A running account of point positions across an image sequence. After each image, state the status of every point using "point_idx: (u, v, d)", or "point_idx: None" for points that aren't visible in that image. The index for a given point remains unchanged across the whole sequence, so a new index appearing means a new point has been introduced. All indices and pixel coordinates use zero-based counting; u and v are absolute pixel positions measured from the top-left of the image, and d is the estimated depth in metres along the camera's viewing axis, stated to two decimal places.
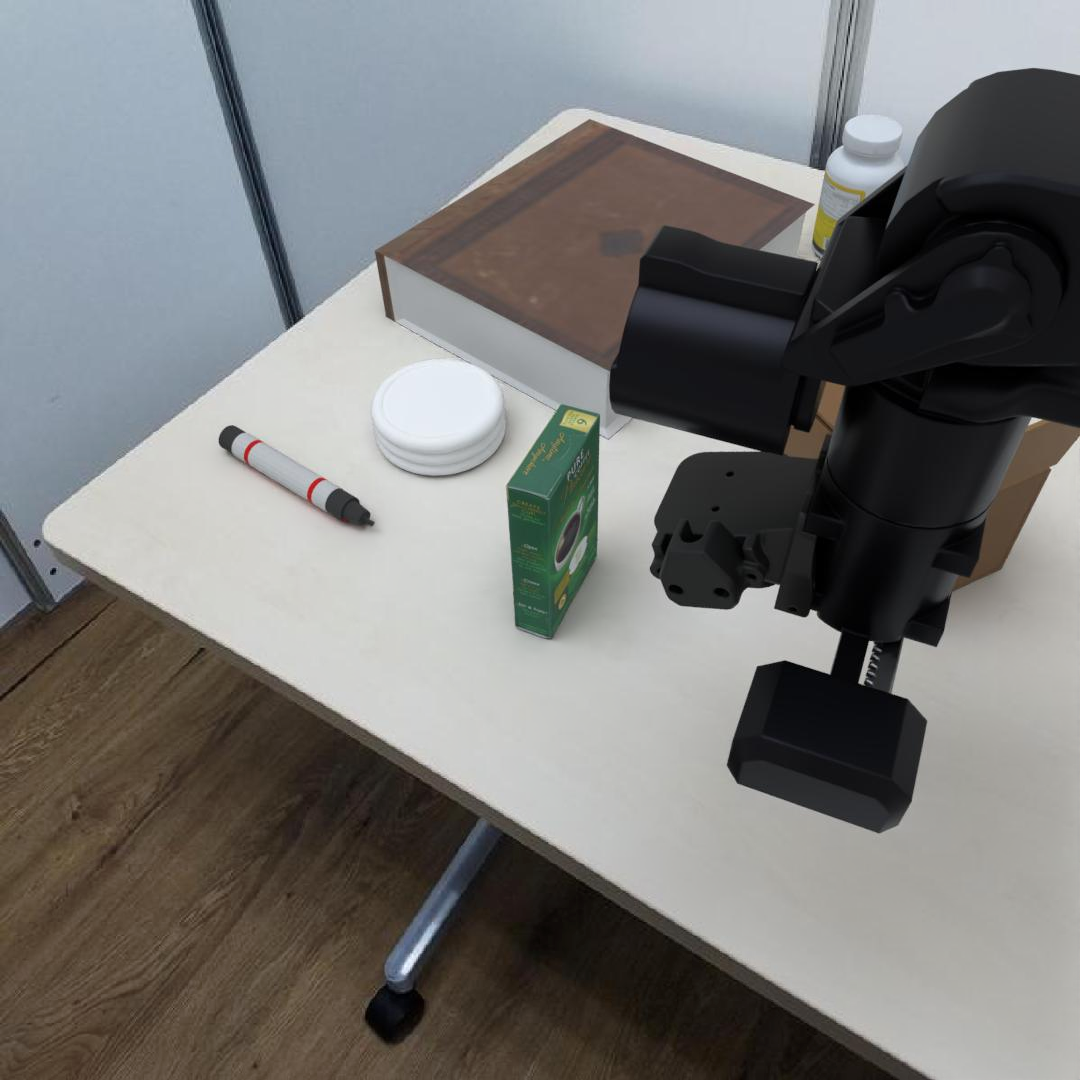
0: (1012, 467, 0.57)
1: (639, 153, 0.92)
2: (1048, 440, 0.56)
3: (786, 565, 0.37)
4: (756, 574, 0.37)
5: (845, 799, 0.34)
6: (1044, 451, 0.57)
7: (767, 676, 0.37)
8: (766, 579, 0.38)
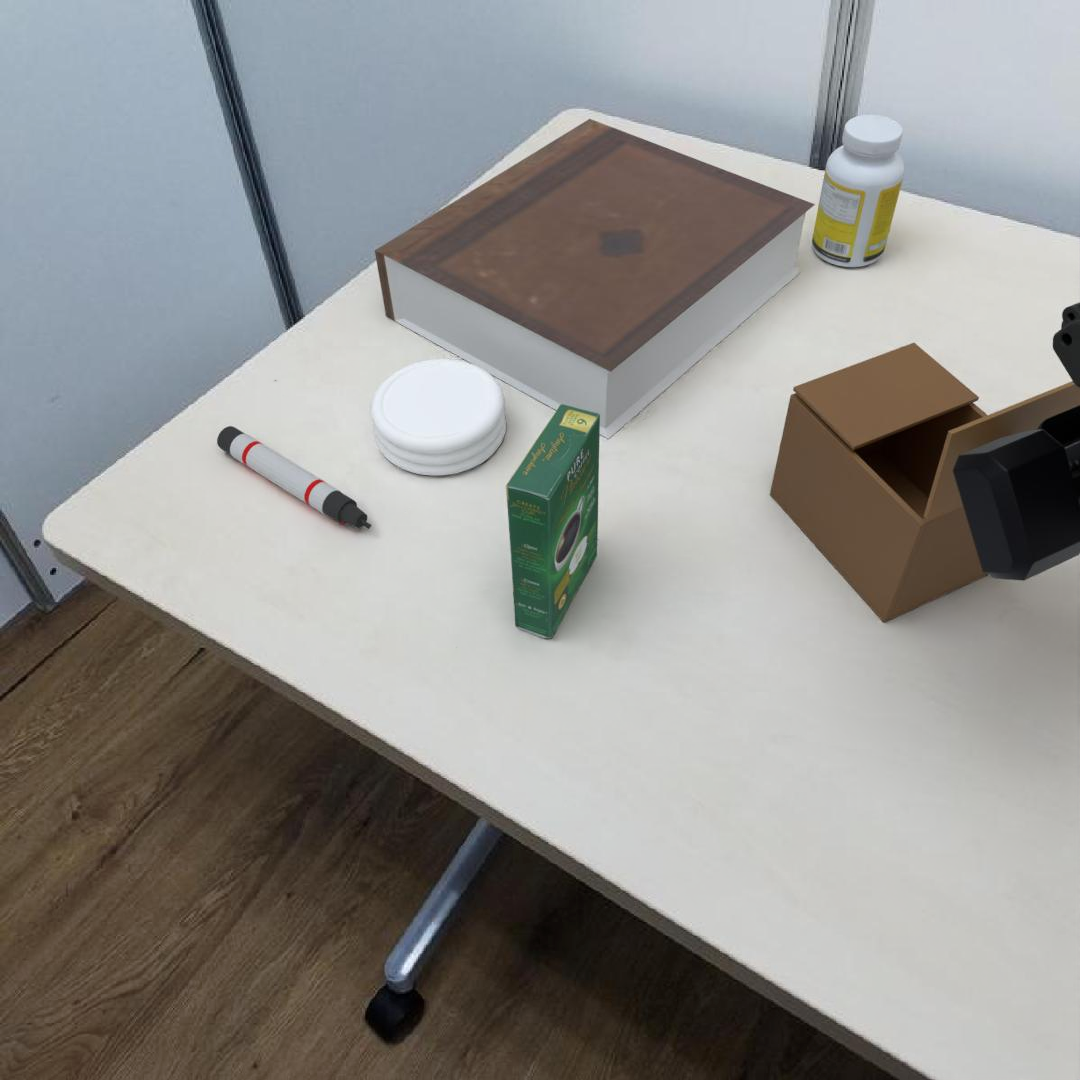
0: None
1: (639, 152, 0.92)
2: (1035, 428, 0.56)
3: None
4: None
5: (996, 543, 0.46)
6: None
7: (1043, 442, 0.46)
8: None
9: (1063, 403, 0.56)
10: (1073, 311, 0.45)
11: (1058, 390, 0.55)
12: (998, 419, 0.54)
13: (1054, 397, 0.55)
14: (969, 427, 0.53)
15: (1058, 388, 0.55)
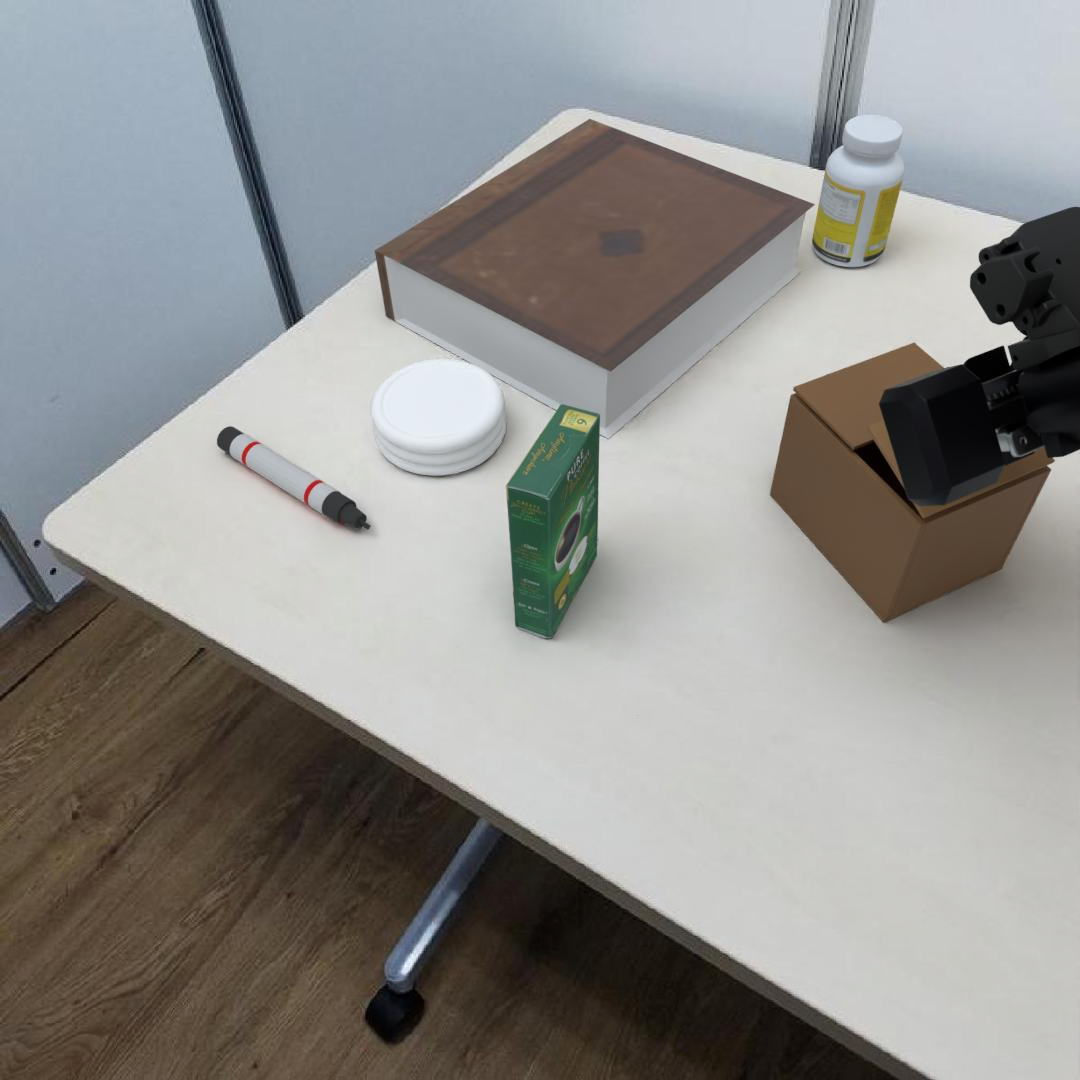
0: None
1: (639, 152, 0.92)
2: None
3: (1048, 337, 0.48)
4: (1029, 323, 0.48)
5: (918, 470, 0.49)
6: None
7: (961, 375, 0.49)
8: (1027, 329, 0.49)
9: None
10: (988, 252, 0.48)
11: None
12: None
13: None
14: None
15: None
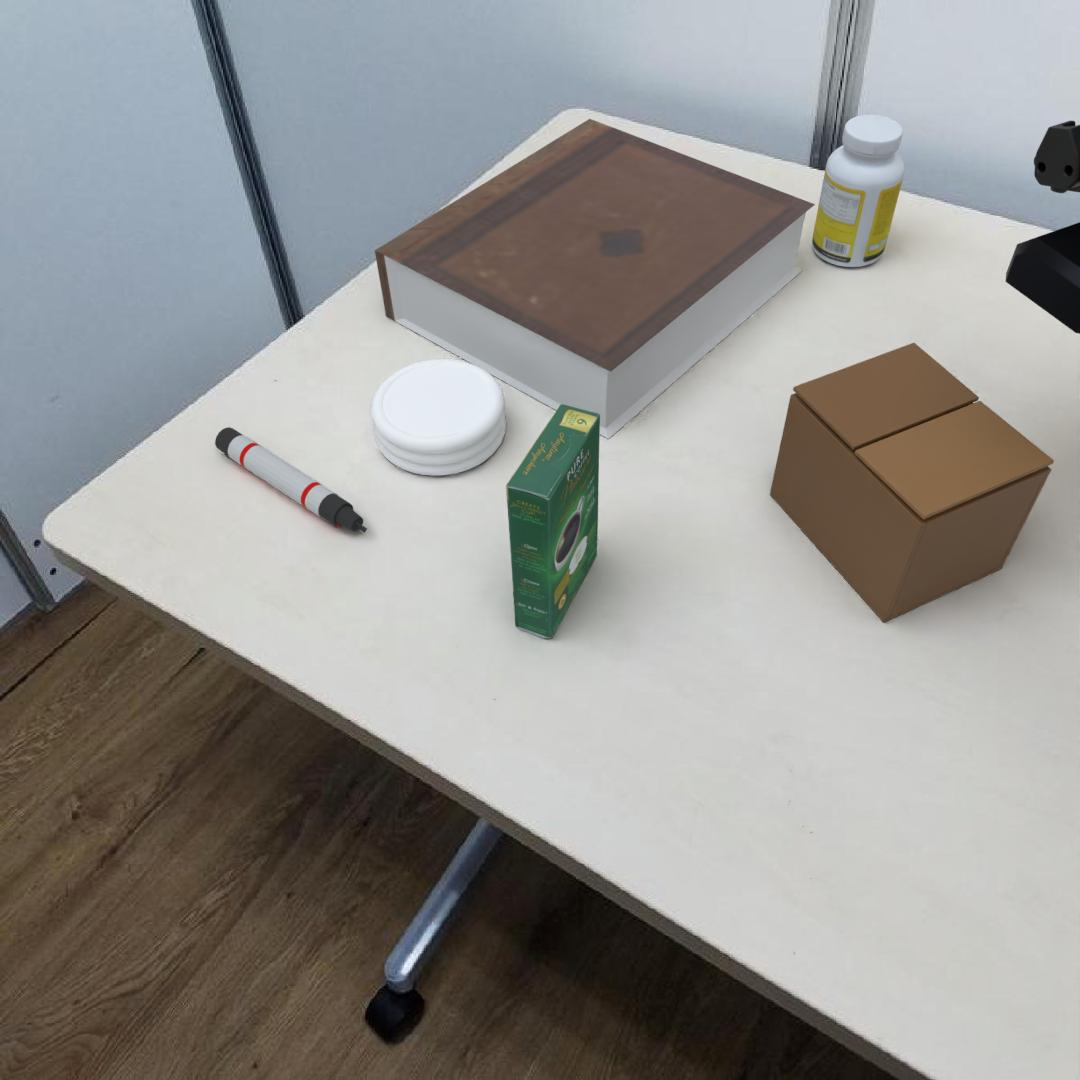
0: (962, 462, 0.60)
1: (639, 152, 0.92)
2: (967, 437, 0.62)
3: None
4: None
5: (1064, 293, 0.51)
6: (988, 447, 0.61)
7: None
8: None
9: (974, 419, 0.63)
10: None
11: (950, 412, 0.63)
12: (901, 436, 0.62)
13: (952, 416, 0.63)
14: (871, 444, 0.62)
15: None
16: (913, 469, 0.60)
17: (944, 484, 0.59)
